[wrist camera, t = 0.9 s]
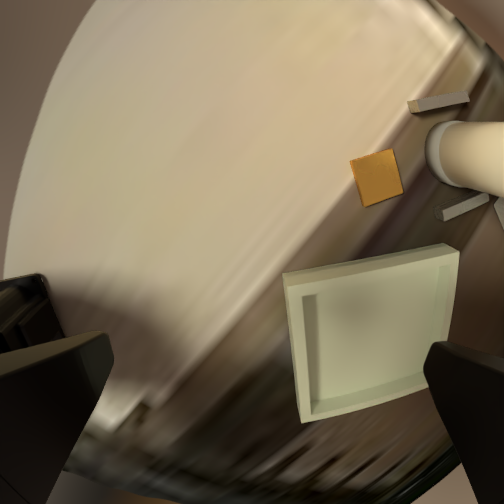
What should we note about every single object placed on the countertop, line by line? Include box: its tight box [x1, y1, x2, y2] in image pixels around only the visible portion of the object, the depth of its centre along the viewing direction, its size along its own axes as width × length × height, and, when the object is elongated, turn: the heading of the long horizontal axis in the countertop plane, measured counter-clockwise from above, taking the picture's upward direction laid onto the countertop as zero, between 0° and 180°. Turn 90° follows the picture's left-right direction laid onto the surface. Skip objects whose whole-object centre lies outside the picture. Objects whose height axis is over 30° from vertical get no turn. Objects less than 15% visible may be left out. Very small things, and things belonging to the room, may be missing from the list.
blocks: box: [350, 91, 489, 221], centre depth 18 cm, size 10×8×1 cm
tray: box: [282, 243, 459, 423], centre depth 21 cm, size 13×13×2 cm
